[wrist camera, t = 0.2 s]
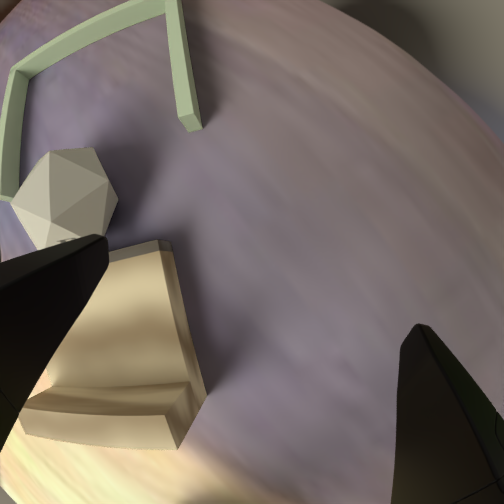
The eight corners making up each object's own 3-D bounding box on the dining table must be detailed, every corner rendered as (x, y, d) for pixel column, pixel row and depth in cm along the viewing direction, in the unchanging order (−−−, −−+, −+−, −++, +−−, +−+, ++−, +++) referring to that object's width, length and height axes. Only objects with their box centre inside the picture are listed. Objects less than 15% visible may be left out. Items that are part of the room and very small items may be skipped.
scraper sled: (207, 395, 23) (177, 449, 15) (77, 400, 24) (25, 433, 16) (171, 242, 24) (119, 232, 15) (45, 274, 25) (-19, 277, 16)
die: (49, 235, 25) (21, 288, 17) (31, 150, 21) (-13, 172, 13) (125, 220, 28) (121, 269, 20) (112, 131, 24) (98, 142, 16)
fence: (202, 128, 24) (193, 113, 21) (12, 202, 25) (-6, 198, 22) (181, 2, 24) (174, -16, 21) (24, 77, 26) (11, 67, 23)
